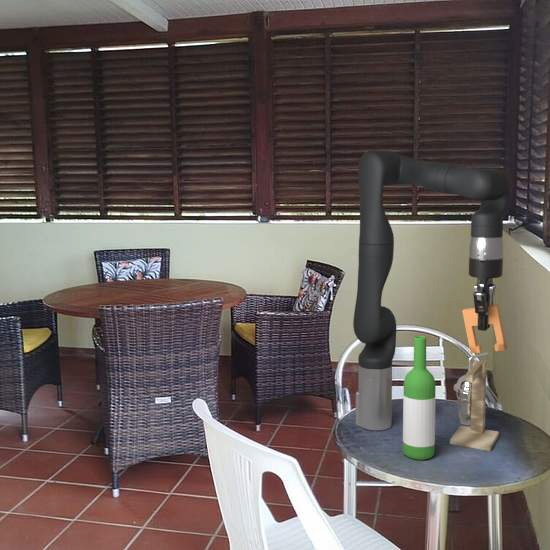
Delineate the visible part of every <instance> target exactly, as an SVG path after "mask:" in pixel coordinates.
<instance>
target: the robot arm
mask: <svg viewBox="0 0 550 550" xmlns="http://www.w3.org/2000/svg"><path fill="white" fill-rule="evenodd" d="M357 174H358V175H357V178H358V182H357V183H358V195H359V236H358V265H357V266H358V267H357V268H358V270H357V289H356V299H355V306H354V313H353V322H352V323H353V324H352V325H353V332H354V335H355V336H356V338H357V339H358V340H359V342H360V343H362V344H365V345H364V347H363V349H362V350H361V352H360V353H359V354H358V364H357V365H358V366H357V367H358V377H357V378H358V379H357V381H358V382H357V383H358V384H357V385H358V386H357V387H358V390H357V391H356V392H355V426H359V427H360V428H362V429H365V430H369V431H384V430H388V429H390V428H391V427H392V424H393V423H392V420H393V416H392V415H393V414H392V413H393V412H392V410H393V359H394V357H395V354H396V345H397V344H396V343H397V320H396V316H395V315H394V313H393V311H392V310H391V309H390V308H388V307H386V306H384V305H383V306H382V296H383V291H384V287H385V285H386V281H387V279H388V277H389V274H390V271H391V269H392V266H393V262H394V261H393V260H394V254H395V253H394V249H395V248H394V246H395V245H394V244H395V238H394V231H393V229H392V225H391V224H390V221H389V219H388V217H387V214H386V212H385V208H384V187H388V186H392V185H415V186H418V187H419V186H420V187H423V188H425V189H427V190H430V191H433V192H437V193H443V194H444V193H445V194H450V195H457V196H460V197H464V198H465V199H466V198H467V199H471V200H476V201H480V206H479V208H478V210H476V211H475V212H473V214H472V216H471V218H470V219H471V221H470V222H471V223H470V241H469V247H468V248H469V249H468V276H469V277H472V278H477V281H476V284H474V291H473V293H472V294H473V295H472V297H473V302H474V303H473V304H474V308H475V313H477V314H478V326H477V330H478V331H484V332H486V331H488V330H489V329H490V327H491V324H488V314H489V306H491V305H494V301H495V296H496V294H495V293H496V289H497V287H496V284H495V283H494V279H498V278H501V277H502V276H503V272H504V271H503V268H504V267H503V266H504V265H503V264H504V239H503V236H504V232H503V231H504V216H505V213H506V210H507V207H508V202H509V197H510V194H511V181H510V178H509V176H508V174H507V173H506V171H504V170H502V169H500V168H472V167H466V166H465V165H460V164H455V163H447V162H438V161H426V160H418V159H414V158H410V157H408V156H405V155H402V154H399V153H397V152H394V151H392V150H379V149H375V150H374V149H373V150H367V151H366V152H364V153H363V154H362V155H361V157H360V159H359V163H358V167H357ZM480 307H483V308H480Z"/></svg>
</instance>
